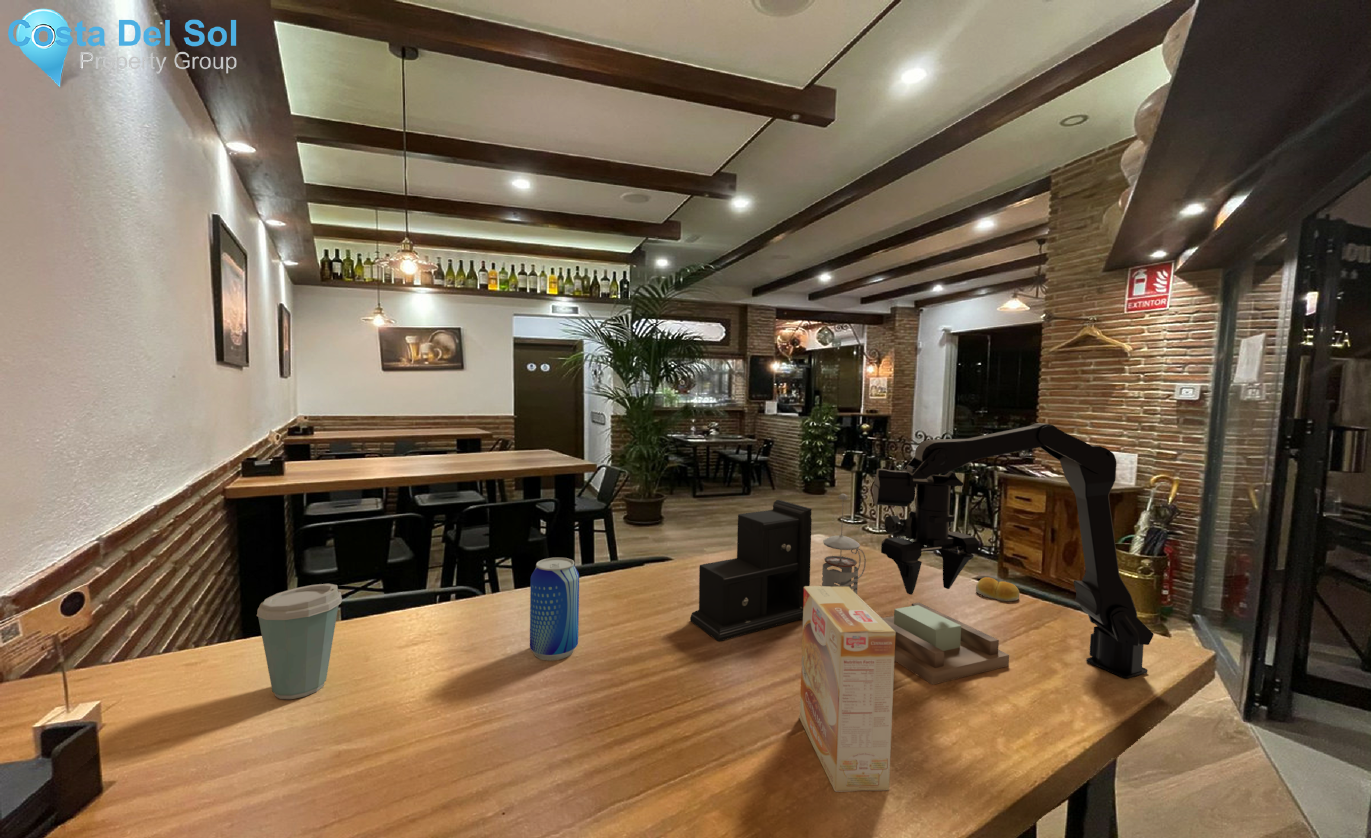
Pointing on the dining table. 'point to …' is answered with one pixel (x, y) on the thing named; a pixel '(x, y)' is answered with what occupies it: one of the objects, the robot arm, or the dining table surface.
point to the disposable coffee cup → (299, 638)
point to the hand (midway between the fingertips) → (928, 591)
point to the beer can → (554, 609)
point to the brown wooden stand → (947, 653)
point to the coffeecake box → (847, 687)
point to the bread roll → (997, 589)
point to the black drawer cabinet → (758, 574)
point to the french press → (841, 561)
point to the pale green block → (929, 626)
